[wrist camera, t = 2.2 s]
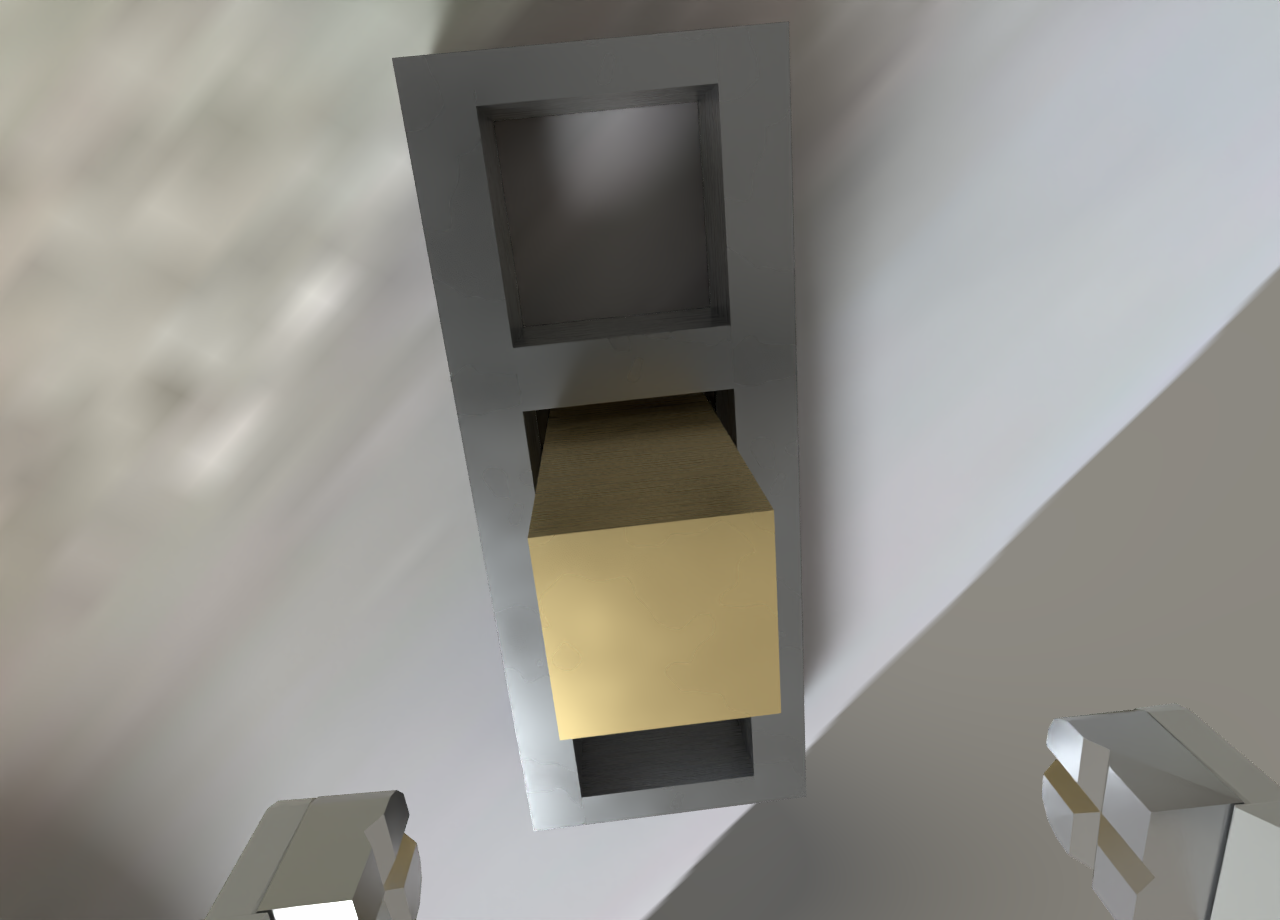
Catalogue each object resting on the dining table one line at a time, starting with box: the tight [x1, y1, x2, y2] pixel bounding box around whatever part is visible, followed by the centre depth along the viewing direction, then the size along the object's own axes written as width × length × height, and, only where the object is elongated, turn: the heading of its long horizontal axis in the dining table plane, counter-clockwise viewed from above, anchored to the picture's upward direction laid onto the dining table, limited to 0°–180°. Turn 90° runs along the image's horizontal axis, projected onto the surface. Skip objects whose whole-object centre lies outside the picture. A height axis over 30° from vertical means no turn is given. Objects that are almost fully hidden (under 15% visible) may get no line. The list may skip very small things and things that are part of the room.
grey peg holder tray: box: [392, 22, 806, 831], centre depth 20 cm, size 8×20×3 cm, turn 5°
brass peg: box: [528, 392, 781, 740], centre depth 17 cm, size 4×4×9 cm
